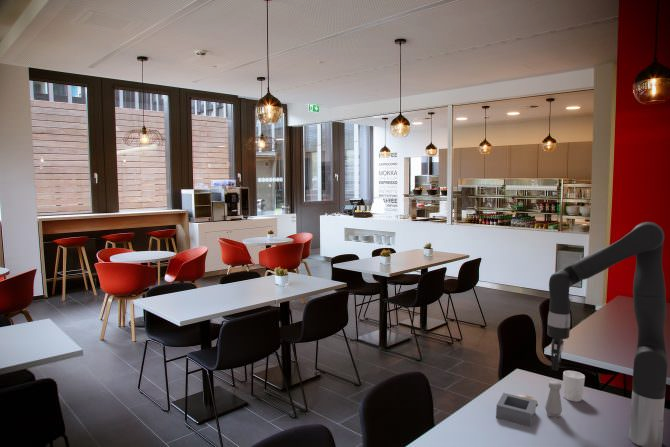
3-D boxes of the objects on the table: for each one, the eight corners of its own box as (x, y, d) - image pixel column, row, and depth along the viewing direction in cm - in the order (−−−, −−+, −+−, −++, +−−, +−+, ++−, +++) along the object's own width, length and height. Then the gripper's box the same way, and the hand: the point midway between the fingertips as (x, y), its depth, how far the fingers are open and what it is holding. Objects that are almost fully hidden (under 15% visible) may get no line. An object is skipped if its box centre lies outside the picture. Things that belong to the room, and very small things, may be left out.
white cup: (557, 395, 196) (559, 372, 195) (570, 392, 199) (572, 369, 198) (574, 403, 188) (575, 379, 188) (587, 400, 192) (589, 376, 191)
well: (535, 412, 181) (536, 400, 180) (530, 426, 170) (530, 413, 170) (502, 404, 187) (503, 392, 186) (495, 417, 177) (496, 404, 176)
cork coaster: (538, 399, 192) (538, 398, 191) (535, 408, 184) (535, 407, 184) (515, 394, 196) (515, 392, 196) (511, 402, 188) (511, 401, 188)
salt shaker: (563, 419, 176) (565, 386, 175) (546, 417, 177) (548, 384, 176) (559, 412, 182) (561, 379, 180) (543, 410, 183) (545, 378, 181)
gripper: (568, 330, 168) (565, 374, 169) (571, 320, 180) (569, 361, 181) (545, 327, 172) (542, 370, 173) (550, 317, 184) (547, 357, 185)
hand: (556, 365), depth 177 cm, fingers open, 8 cm apart
